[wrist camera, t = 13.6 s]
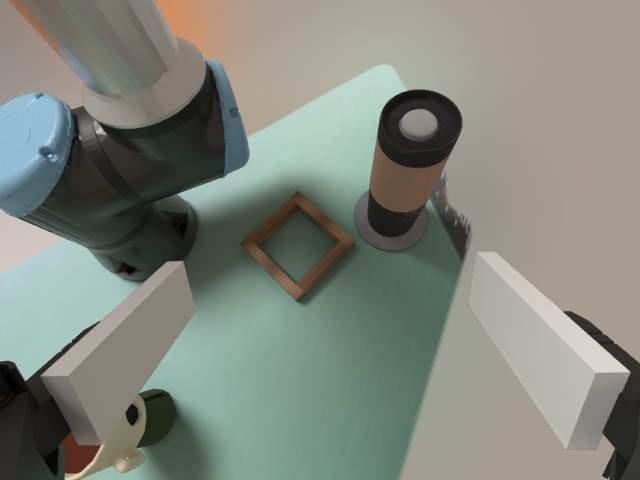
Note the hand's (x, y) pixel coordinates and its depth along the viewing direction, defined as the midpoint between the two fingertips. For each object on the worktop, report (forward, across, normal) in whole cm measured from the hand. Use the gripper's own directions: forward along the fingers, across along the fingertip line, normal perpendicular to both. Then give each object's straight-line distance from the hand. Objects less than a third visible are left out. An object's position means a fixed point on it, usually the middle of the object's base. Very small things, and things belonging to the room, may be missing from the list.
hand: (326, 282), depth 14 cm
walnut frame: (+30, -6, -12) cm, 33 cm away
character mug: (+14, -24, -28) cm, 39 cm away
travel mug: (+33, +8, -8) cm, 35 cm away
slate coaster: (+33, +8, -9) cm, 35 cm away
